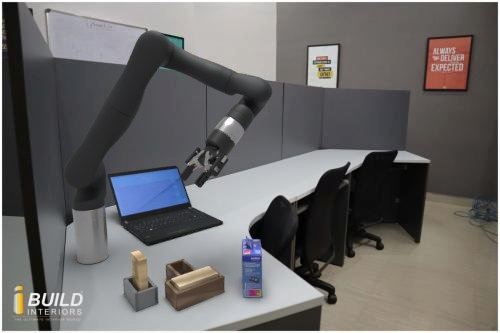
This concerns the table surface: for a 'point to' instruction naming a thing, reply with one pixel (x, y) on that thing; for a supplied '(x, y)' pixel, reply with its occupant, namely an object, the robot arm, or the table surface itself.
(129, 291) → the holder
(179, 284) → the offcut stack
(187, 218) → the laptop
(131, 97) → the robot arm
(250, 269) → the ink cartridge box
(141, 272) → the oak slat
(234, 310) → the table surface
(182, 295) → the tray
